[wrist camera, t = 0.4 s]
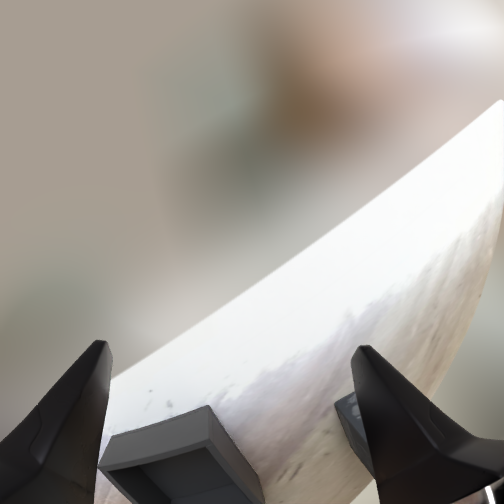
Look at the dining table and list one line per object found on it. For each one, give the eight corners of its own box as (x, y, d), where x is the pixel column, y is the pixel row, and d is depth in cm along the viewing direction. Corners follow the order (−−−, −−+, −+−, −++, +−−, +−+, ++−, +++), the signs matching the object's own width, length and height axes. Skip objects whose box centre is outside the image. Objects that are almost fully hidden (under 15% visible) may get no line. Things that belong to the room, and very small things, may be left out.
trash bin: (257, 475, 25) (267, 509, 19) (169, 500, 23) (166, 532, 18) (208, 404, 24) (209, 438, 18) (111, 435, 22) (96, 467, 17)
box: (391, 422, 27) (441, 469, 16) (349, 447, 26) (390, 503, 16) (379, 374, 26) (439, 419, 16) (332, 401, 26) (379, 461, 15)
